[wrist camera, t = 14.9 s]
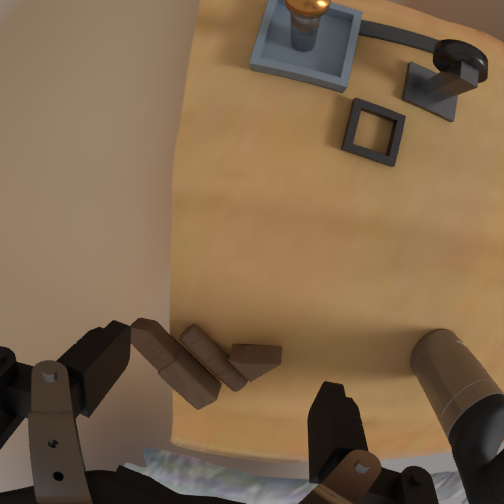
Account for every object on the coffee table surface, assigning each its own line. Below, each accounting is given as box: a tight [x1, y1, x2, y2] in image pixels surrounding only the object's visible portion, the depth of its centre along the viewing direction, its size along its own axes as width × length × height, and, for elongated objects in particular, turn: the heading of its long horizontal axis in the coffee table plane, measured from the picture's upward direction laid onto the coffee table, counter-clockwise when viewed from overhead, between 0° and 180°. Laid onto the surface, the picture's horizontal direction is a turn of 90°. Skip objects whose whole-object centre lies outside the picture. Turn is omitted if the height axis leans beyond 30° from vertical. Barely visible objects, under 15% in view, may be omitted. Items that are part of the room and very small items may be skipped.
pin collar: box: [341, 98, 406, 167], centre depth 35 cm, size 7×7×2 cm
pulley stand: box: [402, 39, 488, 122], centre depth 27 cm, size 8×7×12 cm
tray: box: [249, 0, 363, 93], centre depth 32 cm, size 12×12×3 cm
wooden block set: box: [130, 318, 282, 410], centre depth 44 cm, size 17×6×18 cm
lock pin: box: [284, 0, 331, 52], centre depth 27 cm, size 4×4×13 cm
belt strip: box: [358, 20, 439, 54], centre depth 31 cm, size 14×2×1 cm, turn 86°
